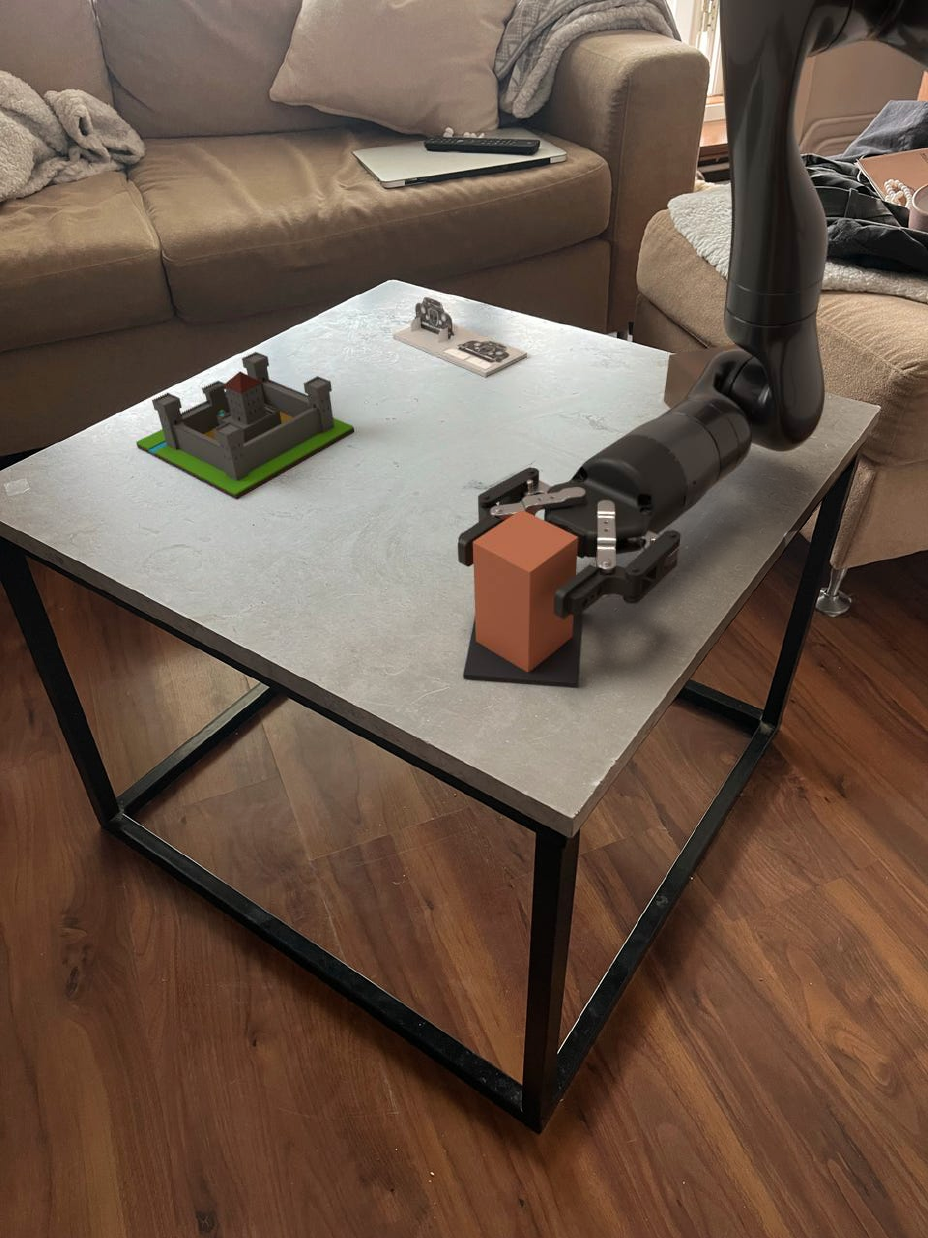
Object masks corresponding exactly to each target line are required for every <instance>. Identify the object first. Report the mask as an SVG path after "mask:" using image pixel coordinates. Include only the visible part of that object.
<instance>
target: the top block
mask: <svg viewBox="0 0 928 1238" xmlns="http://www.w3.org/2000/svg"><path fill="white" fill-rule="evenodd" d="M577 551H578V537H577V536H575V535H573V534H571V533H569V532H567V531H565V530H563V529H561V528H558V527H556V526H554V525H552V524H550V523H548V522H546V521H544V519H542V518H539V517H538V516H536V515H535V516H534V515H532V514H529V513H527V512H525V511H523V510H520V511H519V512H517V513H516V514H514V515H513V516H511V517H510V518H508V519H507V520H505V521H504V522H502V523H501V524H499V525H498V526H496V527H495V528H493V529H492V530H490V531H489V532H487V533H486V534H484V535H483V536H481V537H480V538H478V539H477V540H475V541H474V542H473V562H474V564H473V587H474V590H473V592H474V618H475V626H476V642H478V643H479V644H481V645H483V646H484V647H486V648H488V649H489V650H491V651H493V652H494V653H496V654H498V655H499V656H501V657H503V658H504V659H506V660H508V661H509V662H511V663H513V664H514V665H516V666H518V667H519V668H521V669H523V670H524V671H526V672H528V673H529V672H530V671H531V670H533V669H534V668H535V667H536V666H537V665H539V664H540V663H541V662H542V661H544V660H545V659H546V658H547V657H548V656H550V655H551V654H552V653H553V652H555V651H556V650H557V649H558V648H559V647H561V646H562V645H563V644H564V643H566V642H567V641H568V640H569V639H570V638H572V633H573V617H574V616H573V615H570V616H569V617H567V618H566V619H562V618H560V617H558V616H556V615H555V614H554V596H555V593H556V591H557V590H558V588H560V587H561V586H562V585H564V584H565V583H566V582H567V581H569V580H570V579H571V578H573V577H574V576H575V575H577V565H578V556H577Z"/></svg>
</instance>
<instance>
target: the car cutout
mask: <svg viewBox="0 0 928 1238" xmlns="http://www.w3.org/2000/svg"><path fill="white" fill-rule="evenodd" d="M414 309H415V310H414V311H415V316H414V318H413V320H412V321H411V323H410V326H409V327H406V328H404V329H402V330H399V331H397V332H395V333H393V334H392V338H393V339H395V340H397V341H399V342H400V343H401V342H402V343H404V344H406V345H409V346H411V347H413V348H416V349H418V350H420V351H423V352H425V353H427V354H430V355H432V356H434V357H437V358H439V359H441V360H443V361H446V362H449V363H451V364H454V365H456V366H458V367H461V368H462V369H465V370H468V371H470V372H472V373H475V374H477V375H479V376H482V377H485V378H487V377H489V376H490V375H493V374H495V373H497V372H499V371H501V370H503V369H505V368H507V367H509V366H511V365H513V364H515V363H517V362H519V361H521V360H523V359H525V358H527V357H528V352H526V351H524V350H521V349H519V348H516V347H513V346H511V345H508V344H506V343H503V342H501V341H498V340H495V339H493V338H490V337H487V336H485V335H482V334H480V333H477V332H475V331H472V330H470V329H467V328H465V327H463V326H459V325H457V324H454V323H453V319H452V317H451V315H450V314H449V313H447V312H446V311H445V309H444V307H443V304H442V303H441V302H440V301H439V300H436V299H434V298H431V297H430V296H429V297H428V296H425V297H423V300H422V302H417V303H416V304H415V308H414Z"/></svg>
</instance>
